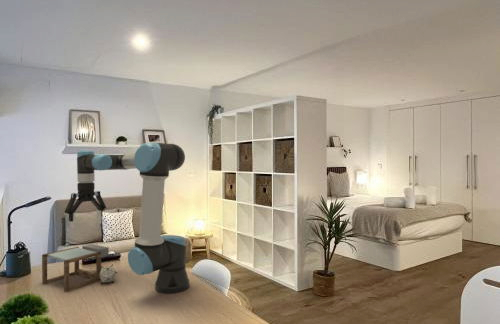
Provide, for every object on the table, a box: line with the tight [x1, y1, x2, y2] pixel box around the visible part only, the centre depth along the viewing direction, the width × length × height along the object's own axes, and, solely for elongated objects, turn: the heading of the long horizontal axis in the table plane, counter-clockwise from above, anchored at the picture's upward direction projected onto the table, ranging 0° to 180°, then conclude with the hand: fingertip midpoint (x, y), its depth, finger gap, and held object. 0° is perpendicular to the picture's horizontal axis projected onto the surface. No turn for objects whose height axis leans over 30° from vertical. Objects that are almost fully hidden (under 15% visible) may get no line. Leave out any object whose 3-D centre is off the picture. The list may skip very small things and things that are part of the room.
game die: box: [97, 264, 118, 285], centre depth 156 cm, size 9×8×10 cm
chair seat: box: [47, 243, 110, 262], centre depth 161 cm, size 16×22×4 cm
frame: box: [41, 246, 102, 293], centre depth 157 cm, size 20×17×14 cm
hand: (86, 225), depth 163 cm, fingers open, 13 cm apart
